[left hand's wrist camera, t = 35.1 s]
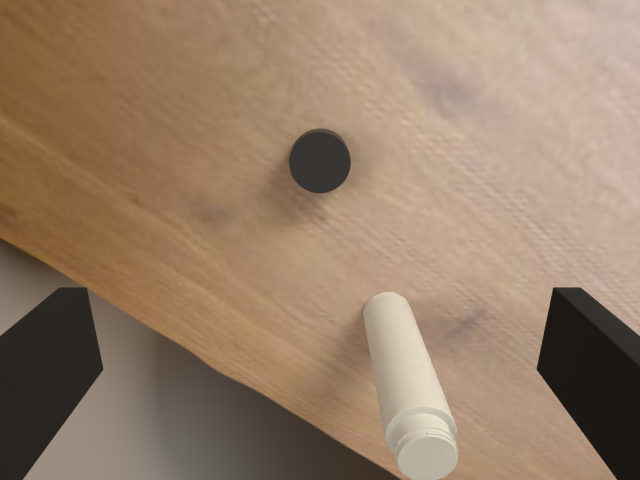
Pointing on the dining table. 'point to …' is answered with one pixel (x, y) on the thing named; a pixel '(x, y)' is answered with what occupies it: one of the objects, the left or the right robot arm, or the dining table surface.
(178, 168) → the dining table surface
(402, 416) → the cream white bottle
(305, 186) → the lid
